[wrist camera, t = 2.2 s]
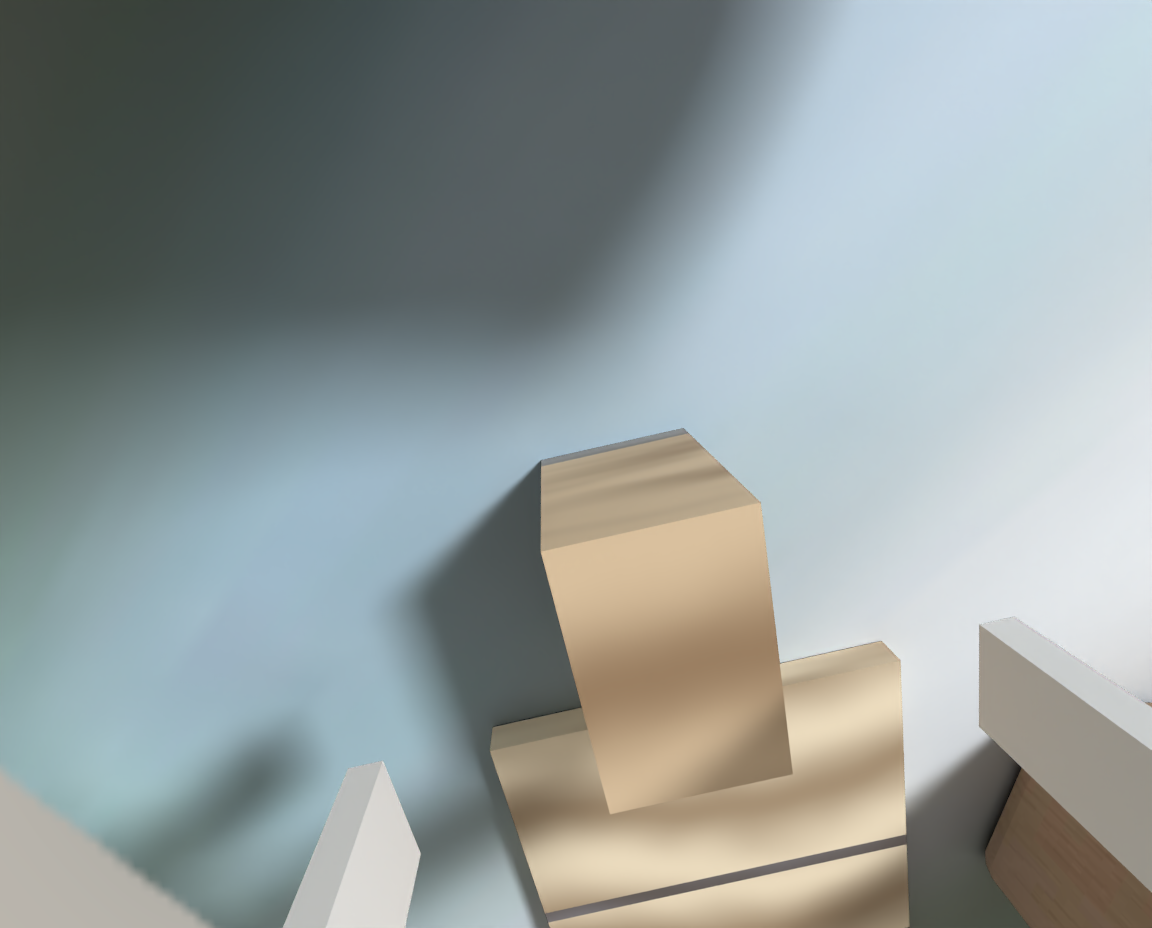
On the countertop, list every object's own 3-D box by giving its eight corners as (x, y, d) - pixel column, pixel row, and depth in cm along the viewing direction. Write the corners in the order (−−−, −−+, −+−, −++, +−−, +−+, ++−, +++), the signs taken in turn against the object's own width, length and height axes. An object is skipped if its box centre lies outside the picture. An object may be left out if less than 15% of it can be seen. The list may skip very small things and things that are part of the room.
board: (492, 727, 22) (489, 751, 21) (881, 641, 22) (900, 660, 21) (611, 1084, 30) (614, 1116, 28) (899, 1022, 29) (913, 1051, 28)
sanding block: (540, 459, 19) (540, 552, 12) (682, 427, 19) (760, 502, 12) (588, 650, 21) (610, 814, 15) (713, 622, 21) (792, 773, 15)
